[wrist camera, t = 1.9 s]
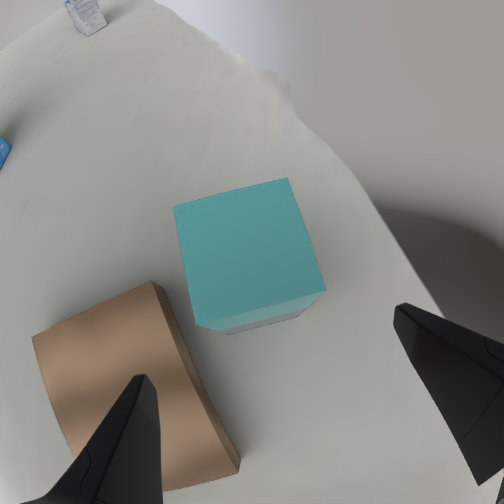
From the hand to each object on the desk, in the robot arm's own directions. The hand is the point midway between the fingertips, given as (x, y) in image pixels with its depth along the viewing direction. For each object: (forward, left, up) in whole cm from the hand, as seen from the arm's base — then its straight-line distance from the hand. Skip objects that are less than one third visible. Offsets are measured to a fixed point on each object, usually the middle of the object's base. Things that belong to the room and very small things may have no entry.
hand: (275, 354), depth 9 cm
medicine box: (+61, +7, -11) cm, 63 cm away
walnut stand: (0, +11, -11) cm, 16 cm away
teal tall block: (+4, -1, -11) cm, 12 cm away
